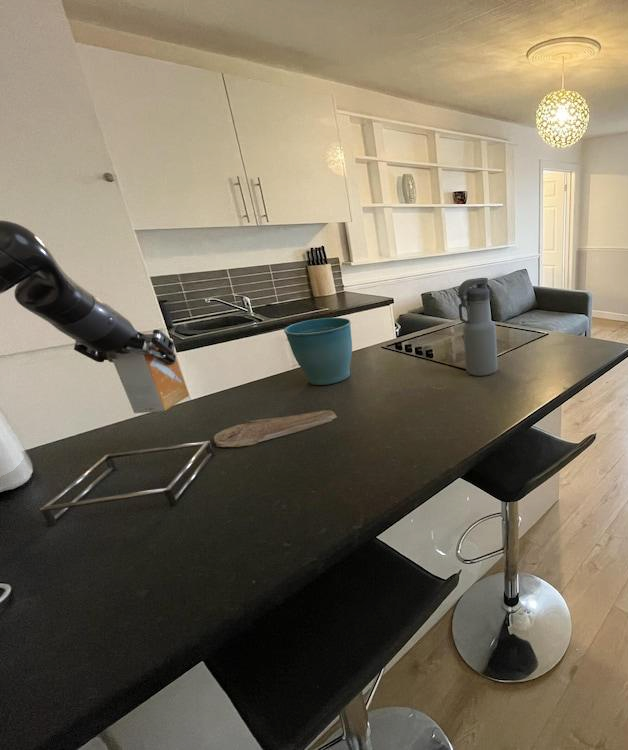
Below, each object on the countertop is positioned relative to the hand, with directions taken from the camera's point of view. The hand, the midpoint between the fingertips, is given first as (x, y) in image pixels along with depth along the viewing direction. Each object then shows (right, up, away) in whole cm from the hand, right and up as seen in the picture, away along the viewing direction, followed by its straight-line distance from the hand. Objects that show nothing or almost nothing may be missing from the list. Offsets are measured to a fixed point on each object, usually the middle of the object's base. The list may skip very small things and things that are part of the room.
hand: (152, 362), depth 85 cm
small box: (+1, -9, +2) cm, 9 cm away
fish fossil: (+20, -15, +12) cm, 28 cm away
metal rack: (+4, -24, -8) cm, 25 cm away
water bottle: (+67, -2, +41) cm, 79 cm away
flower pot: (+20, -4, +40) cm, 45 cm away
